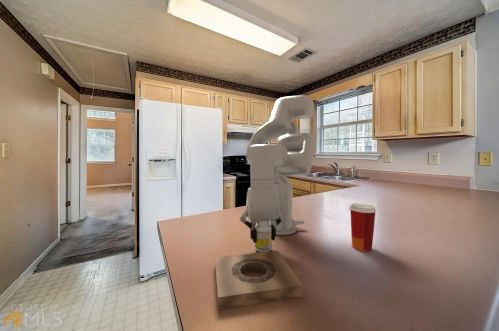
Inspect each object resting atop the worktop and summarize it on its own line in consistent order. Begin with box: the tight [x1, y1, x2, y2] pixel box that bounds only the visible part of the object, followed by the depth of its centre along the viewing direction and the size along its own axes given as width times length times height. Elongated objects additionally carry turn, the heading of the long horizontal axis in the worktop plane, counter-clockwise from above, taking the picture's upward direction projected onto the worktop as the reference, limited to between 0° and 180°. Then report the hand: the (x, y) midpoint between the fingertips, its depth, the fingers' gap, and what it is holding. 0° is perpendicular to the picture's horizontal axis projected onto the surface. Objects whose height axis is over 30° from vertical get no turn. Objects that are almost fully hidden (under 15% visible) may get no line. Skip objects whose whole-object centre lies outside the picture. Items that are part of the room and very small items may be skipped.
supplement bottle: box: [254, 220, 273, 253], centre depth 65 cm, size 5×5×10 cm
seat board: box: [214, 250, 304, 310], centre depth 49 cm, size 18×16×2 cm
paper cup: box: [348, 202, 378, 253], centre depth 65 cm, size 8×8×14 cm
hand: (263, 239), depth 65 cm, fingers closed on supplement bottle, 5 cm apart
